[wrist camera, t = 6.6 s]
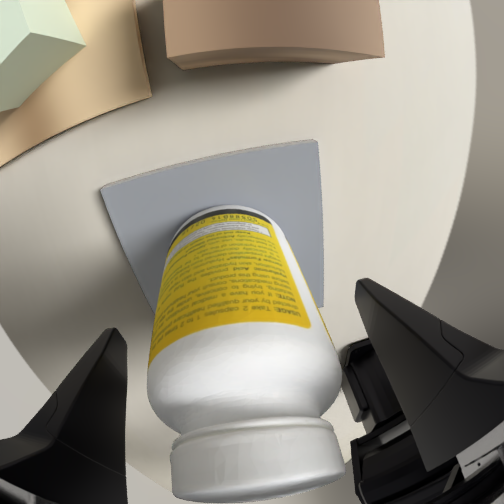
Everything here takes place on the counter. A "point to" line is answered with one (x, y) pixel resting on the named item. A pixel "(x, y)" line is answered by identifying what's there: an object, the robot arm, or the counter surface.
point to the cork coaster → (83, 78)
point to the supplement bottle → (242, 364)
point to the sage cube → (33, 46)
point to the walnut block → (271, 31)
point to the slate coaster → (217, 194)
